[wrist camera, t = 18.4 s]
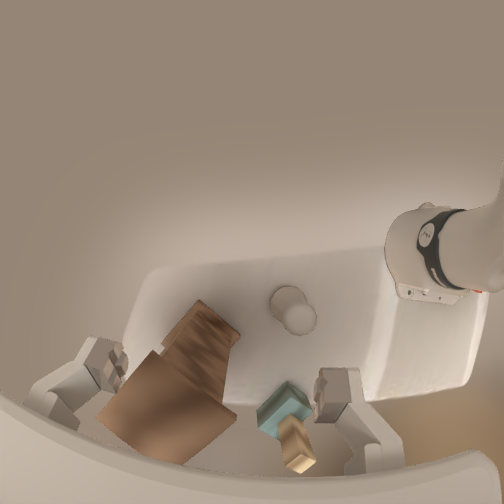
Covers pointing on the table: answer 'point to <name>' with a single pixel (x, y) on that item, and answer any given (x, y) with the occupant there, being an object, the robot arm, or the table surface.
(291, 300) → the salt shaker
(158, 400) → the pedestal
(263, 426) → the mallet
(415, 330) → the table surface
